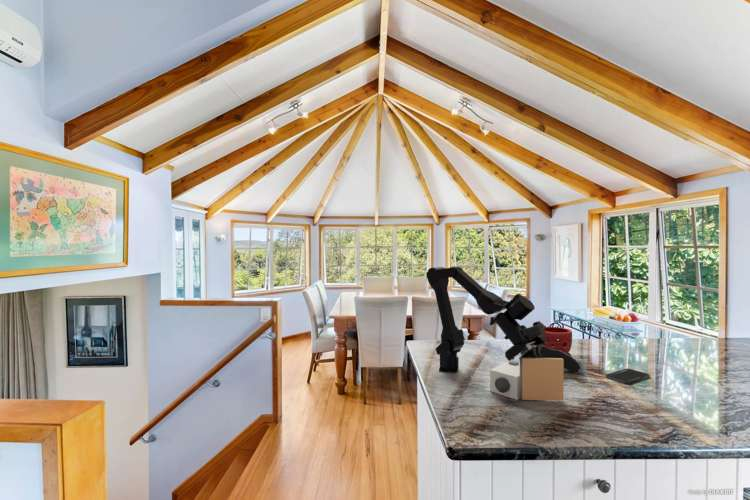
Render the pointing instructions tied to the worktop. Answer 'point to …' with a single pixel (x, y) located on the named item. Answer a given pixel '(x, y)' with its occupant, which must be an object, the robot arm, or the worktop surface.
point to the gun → (568, 360)
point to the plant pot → (558, 333)
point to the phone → (627, 376)
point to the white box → (506, 379)
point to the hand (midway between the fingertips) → (545, 370)
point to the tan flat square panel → (541, 378)
